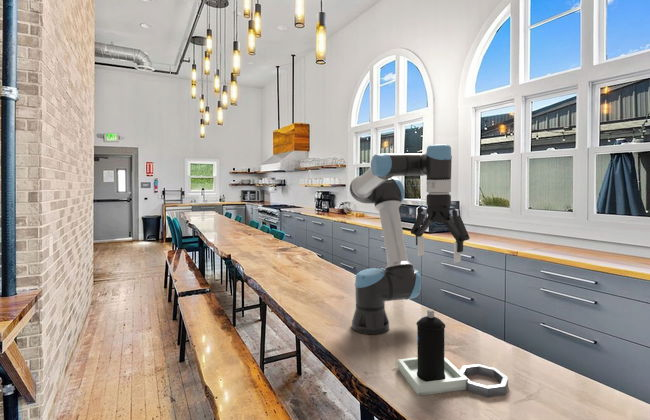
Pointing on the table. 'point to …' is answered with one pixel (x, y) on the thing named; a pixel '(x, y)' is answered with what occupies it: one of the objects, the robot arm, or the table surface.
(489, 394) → the collar
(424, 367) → the aerosol can
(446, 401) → the table surface
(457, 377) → the tray
